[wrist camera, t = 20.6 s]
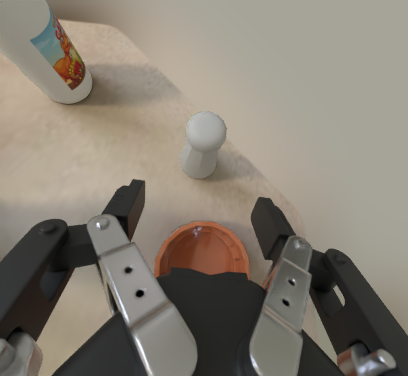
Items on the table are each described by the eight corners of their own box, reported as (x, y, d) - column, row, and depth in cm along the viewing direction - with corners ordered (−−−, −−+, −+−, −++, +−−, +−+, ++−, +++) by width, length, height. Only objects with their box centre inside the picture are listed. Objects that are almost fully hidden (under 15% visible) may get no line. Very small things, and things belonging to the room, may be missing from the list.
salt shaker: (202, 143, 32) (216, 91, 19) (220, 170, 32) (247, 136, 19) (173, 159, 31) (167, 116, 18) (191, 188, 30) (199, 164, 18)
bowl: (141, 260, 27) (133, 269, 23) (202, 205, 30) (206, 202, 25) (196, 325, 27) (200, 347, 22) (253, 263, 29) (268, 271, 25)
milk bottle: (67, 114, 30) (-141, -86, 10) (33, 83, 30) (-236, -169, 11) (104, 85, 32) (-19, -135, 12) (70, 56, 32) (-102, -205, 12)
